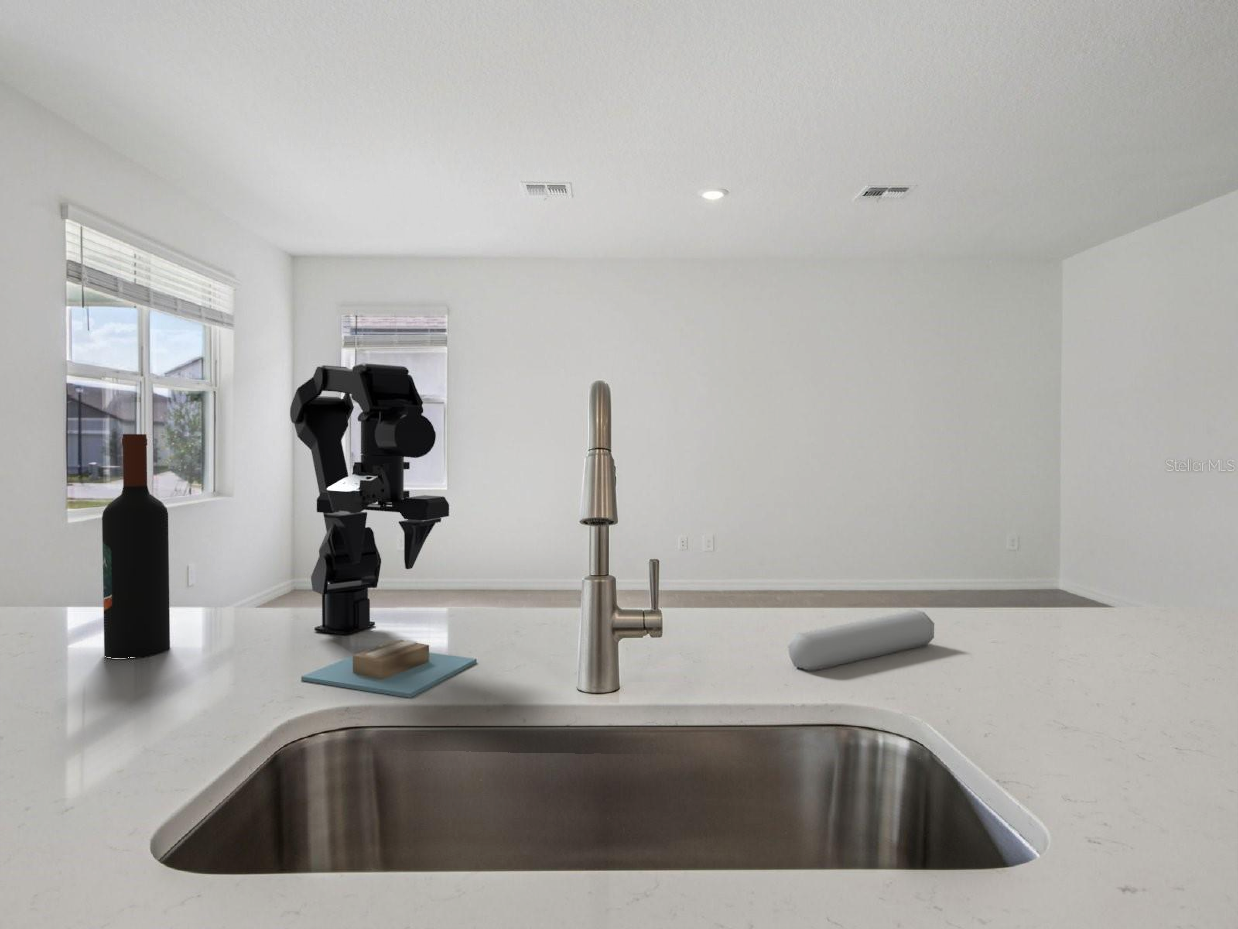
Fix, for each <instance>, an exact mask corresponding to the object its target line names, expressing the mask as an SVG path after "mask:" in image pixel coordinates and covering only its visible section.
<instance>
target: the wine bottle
mask: <svg viewBox="0 0 1238 929" xmlns="http://www.w3.org/2000/svg"><path fill="white" fill-rule="evenodd" d="M147 435H148V434H147V433H144V434H143V433H141V434H140V433H122V438H121V446H122V472H123V473H122V482H123V485H122V489H121V490H122V492H121V493H120V495H119V496H117V497H116V498H115V499H113V500H112V501H111V502H109V503H108V504H107V506H106V507H105V508H104V510H103V512H102V516H101V529H102V530H101V534H102V535H101V536H102V537H101V540H102V590H103V592H102V594H103V596H102V597H103V601H102V602H103V603H102V604H103V606H102V607H103V646H104V647H103V650H104V651H103V653H104V656H106V657H111V658H128V657H129V658H130V657H143V658H146V657H145V656H148V657H151V655H153V656H156V655H160V654H162V653H165V652H167V651H169V650H170V649H171V629H170V628H171V626H170V624H171V623H170V622H171V621H170V620H171V619H170V613H171V612H170V558H169V557H170V556H169V555H170V551H169V548H170V547H169V542H170V541H169V512H168V509H167V507H166V506H165V504H164V503H163V502H162V501H161V500H160V499H158V498H156V496H154V495H152V494H151V493H150V491H149V488H148V449H147V448H148V447H147V446H148V437H147ZM106 657H105V658H106Z"/></svg>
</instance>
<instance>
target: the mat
mask: <svg viewBox="0 0 1238 929" xmlns="http://www.w3.org/2000/svg"><path fill="white" fill-rule="evenodd" d="M380 646H381V645H377V646H374V647H371V648H369V649H367V650H365V651H368V650H371V649H374V648H377V647H380ZM365 651H362V652H365ZM362 652H360V653H362ZM476 663H477V658H474V657H465V656H459V655H458V656H457V655H450V654H443V653H435V652H429V662H427V663H425V664H422V665H419V666H417V667H414V668H411V669H409V670H406V671H403V672H401V673H398V674H395V675H393V676H390V677H387V678H385V679H382V680H381V679H377V678H373V677H368V676H364V675H360V674H355V673H353V655H352V656H350V657H347V658H344V659H342V660H339V661H336V662H333V663H332V664H329V665H327V666H324V667H322V668H318V669H316V670H314V671H311V672H309V673H306V674H304V675H301V676H300V678H301V681H303V682H309V683H315V684H322V685H328V686H333V687H339V688H340V687H341V688H347V689H353V690H360V691H365V692H371V693H377V694H378V693H379V694H385V695H391V696H397V697H401V698H402V697H404V698H408V699H411V698H413V697H415V696H416V695H419V694H420V693H422V692H425V691H426V690H427V689H430V688H432V687H434V686H436V685H437V684H439V683H441V682H443V681H444V680H446V679H448V678H450V677H452V676H454V675H456V674H459V673H460V672H461V671H464V670H466V669H467V668H468V667H470V666H473V665H475V664H476Z"/></svg>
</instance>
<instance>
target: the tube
mask: <svg viewBox="0 0 1238 929" xmlns="http://www.w3.org/2000/svg"><path fill="white" fill-rule="evenodd" d="M934 638H935V622H934V621H933V620H932V619H931V618H930V617H929V616H928V615H927V614H926V612H924V611H923V610H917V609H913V608H909V610H908V611H902V612H899V613H894V614H888V615H883V616H878V617H874V618H872V617H871V618H869V619H868V618H867V619H863V620H858V621H854V622H849V623H847V622H846V623H842V624H838V625H832V626H827V627H823V628H817V629H812V630H807V631H803V632H798V633H797V634H796V636H794V638H793V639H792V640H791V642H790V643H789V644H788V645H787V648H788V655H789V658H790V660H791V662H792V664H793V667H796V668H798V667H799V668H798V669H802V668H803V669H802V670H805V671H807V670H810V671H809V672H813V671H812V670H814V671H817V670H816V669H819V670H821V669H820V668H823V669H826V668H825V667H827V668H831V666H832V667H835V666H834V665H836V666H840V665H839V664H841V665H844V664H849V662H850V663H853V662H858V661H861V660H866V659H871V658H875V657H879V656H885V655H888V654H892V653H897V652H903V651H906V650H910V649H915V648H919V647H927V646H929V644H930V643H931V642H932V641H933V639H934Z"/></svg>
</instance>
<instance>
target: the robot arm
mask: <svg viewBox="0 0 1238 929" xmlns="http://www.w3.org/2000/svg"><path fill="white" fill-rule="evenodd" d="M409 373H410V371H409V369H408V367H407V366H401V365H391V364H377V363H365V362H363V363H362V362H361V363H360V364H356V365H353V366H352V368H348V367H347V366H338V365H324V364H323V365H320V366H317V367H316V369H315V370H314V374H313V376H312V377H310V379H308V380H307V381H306V382H304V383H303V384H302V385H300V386H299V387H297V389H296V392H295V393H294V396H293V399H292V402H291V404H290V409H289V416H290V417H289V418H290V420H291V423H292V424H294V428H295V432H296V436H297V438H298V439H299V440H300V441H301V442H302V443H303V444H304V445H305V446H307V448H308V449H310V452H311V456H312V457H311V458H312V462H313V468H314V472H315V477H316V481H317V487H318V492H319V496H318V497H317V498H316V513H322V514H323V518H324V519H323V520H324V524H325V529H326V533H325V536H324V538H323V540H322V542H321V543H320V546H319V549H318V554H319V555H318V559H317V561H316V564H315V566H314V568H313V571H312V574H311V576H310V579H311V580H310V581H311V589H312V591H313V592H314V593H318V594H320V595H321V625H317V626H315V627H314V632H323V633H328V634H338V635H345V636H347V635H351V634H353V633H357V632H360V631H362V630H365V629H368V628H371V627H373V626H375V625H376V622H375V621H372V620H371V617H370V616H371V615H370V614H371V610H370V609H371V601H370V600H371V599H370V598H369V589H376V588H378V583H379V578H380V571H381V565H382V558H381V554H380V552H379V549H378V547H377V544H376V539H375V533H374V531H373V529H372V528H371V527H370V526H367V527H366V525H367V519H368V511H375V512H376V511H377V512H389V513H399V514H400V516H401V517H402V518H403V519H404V520H400V521H398V524H399V526H400V527H401V529H402V531H403V533H404V534H403V539H404V542H403V546H404V548H403V549H404V550H403V553H404V555H403V558H404V559H403V561H404V568H405V569H406V570H411V569H413V568H414V565H415V563H416V561H417V559H418V557H419V554H420V552H421V550H422V548H423V546H424V544H425V542H426V540H427V538H428V537H429V534H430V533H431V531H432V530H433V528H434V527H435V525H436V523H437V524H438V523H441V522H442V518H447V517H450V503H449V502H448V500H447V498H446V497H445V496H439V495H426V494H425V495H424V494H423V495H417V496H410V490H405V489H404V488H405V486H404V485H405V484H404V478H405V477H404V476H405V475H404V474H405V471H404V470H410V469H411V468H410V467H411V466H410V464H411V462H410V461H405V460H404V459H405V458H412V459H413V458H414V459H416V458H417V459H418V458H421V457H424V456H426V455H428V453H430V452H431V450H432V449H433V447H434V446H435V443H436V437H437V436H436V435H437V433H436V431H435V428H434V425H433V423H432V422H431V421H430V420H429V419H428V418H427V417H426V416H424V415H423V414H424V408H423V407H424V406H423V404H424V401H423V399H422V397H421V395H420V394H419V392H418V389H417V387H416V385H415V381H414V379H413V376H412V375H411V374H409ZM322 392H335V393H342V394H343V397H342V398H341V397H339V396H329V395H328V396H325V395H324V396H323V395H322ZM352 400H353V401H354V402H355V403H357V404H358V406H359V407H360V410H361V412H360V413H359V414H358V416H357V421H358V422H359V423H360V461H354V462H353V464H354V465H353V466H352V474H351V475H349V472H348V466H347V463H346V457H345V452H344V448H343V444H342V443H343V442H342V440H343V438H344V436H345V433H346V431H347V429H348V427H349V419H350V417H351V415H352V413H353V411H354V409H355V406H354V403H353V401H352ZM365 510H366V511H365Z"/></svg>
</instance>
